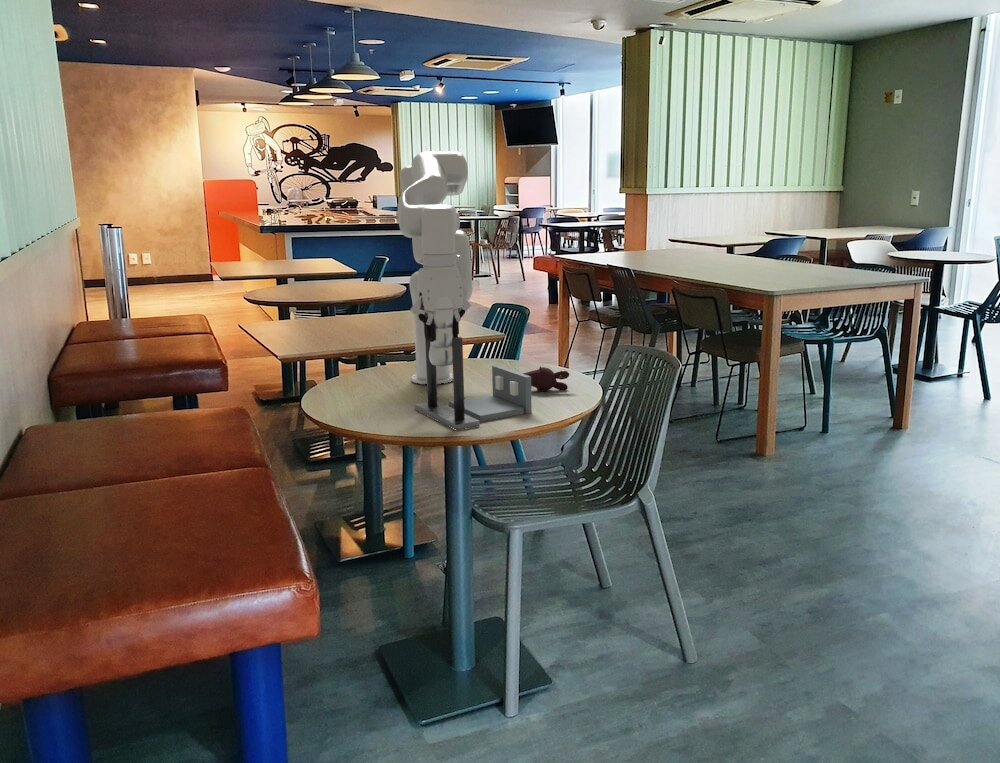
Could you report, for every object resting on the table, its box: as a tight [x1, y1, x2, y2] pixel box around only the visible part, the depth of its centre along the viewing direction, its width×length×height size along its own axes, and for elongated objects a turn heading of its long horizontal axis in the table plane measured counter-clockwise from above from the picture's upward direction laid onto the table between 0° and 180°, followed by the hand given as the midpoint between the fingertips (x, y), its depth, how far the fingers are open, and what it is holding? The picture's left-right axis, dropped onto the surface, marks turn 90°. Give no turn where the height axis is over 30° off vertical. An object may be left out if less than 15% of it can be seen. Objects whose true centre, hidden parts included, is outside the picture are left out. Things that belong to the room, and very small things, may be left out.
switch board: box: [448, 364, 533, 423], centre depth 196 cm, size 16×14×9 cm
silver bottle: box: [429, 297, 454, 367], centre depth 186 cm, size 6×7×20 cm
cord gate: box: [414, 336, 480, 431], centre depth 189 cm, size 22×6×20 cm, turn 31°
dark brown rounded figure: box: [522, 366, 570, 393], centre depth 215 cm, size 7×7×15 cm
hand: (442, 338), depth 187 cm, fingers closed on silver bottle, 5 cm apart
